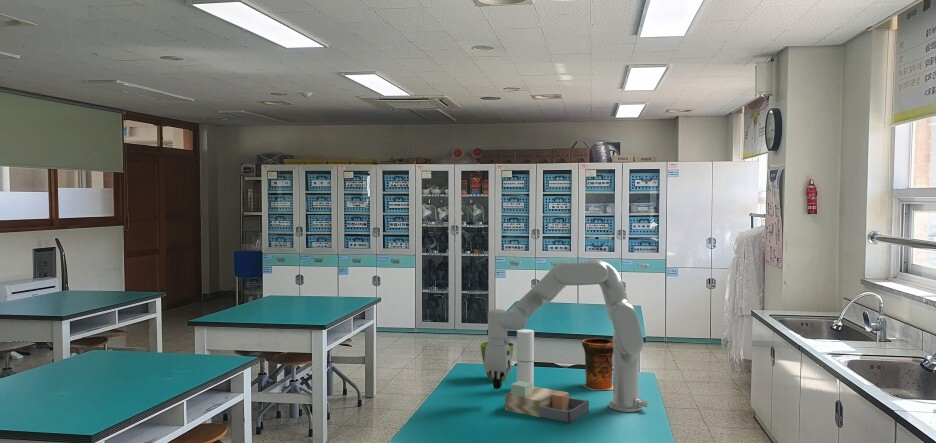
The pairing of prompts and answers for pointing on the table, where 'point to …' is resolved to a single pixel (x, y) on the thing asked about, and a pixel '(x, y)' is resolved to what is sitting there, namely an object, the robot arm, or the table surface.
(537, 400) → the striped wooden block
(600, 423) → the table surface
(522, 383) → the pale green block
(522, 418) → the table surface
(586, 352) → the vessel
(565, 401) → the salmon rectangular block
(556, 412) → the box
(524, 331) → the cylindrical container
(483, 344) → the flower pot
